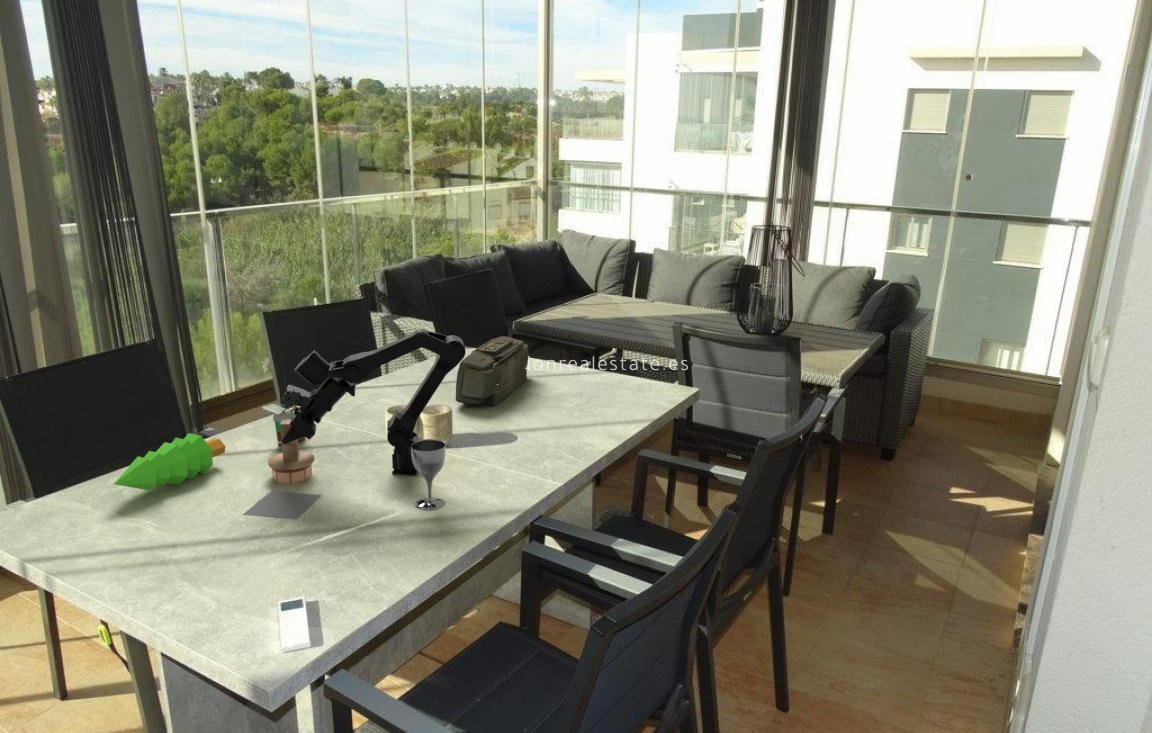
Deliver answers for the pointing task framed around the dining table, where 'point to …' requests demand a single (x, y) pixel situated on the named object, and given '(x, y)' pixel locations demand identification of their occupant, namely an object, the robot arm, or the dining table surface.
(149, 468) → the decorative tree
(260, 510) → the rubber mat
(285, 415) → the food container
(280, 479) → the terracotta bowl
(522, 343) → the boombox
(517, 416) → the dining table surface
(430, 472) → the wine glass
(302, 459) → the walnut lid
